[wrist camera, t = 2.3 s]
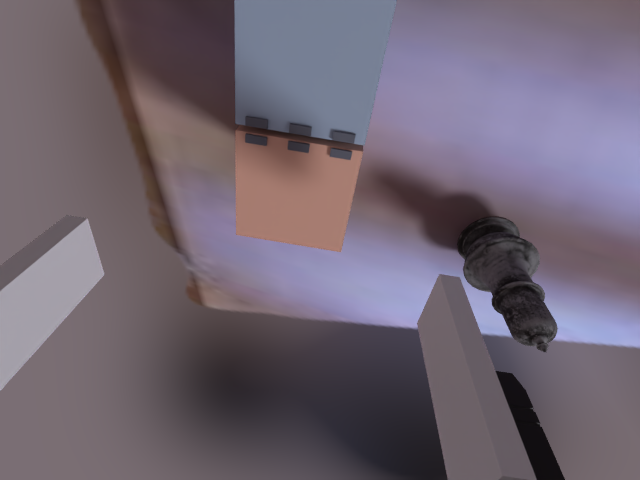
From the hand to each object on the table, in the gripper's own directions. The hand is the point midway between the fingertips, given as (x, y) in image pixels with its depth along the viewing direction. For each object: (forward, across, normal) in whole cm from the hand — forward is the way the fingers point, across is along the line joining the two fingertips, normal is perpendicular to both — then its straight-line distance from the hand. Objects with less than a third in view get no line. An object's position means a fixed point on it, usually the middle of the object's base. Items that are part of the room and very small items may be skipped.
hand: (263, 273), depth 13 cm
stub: (+17, 0, 0) cm, 17 cm away
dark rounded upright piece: (+17, +17, -7) cm, 25 cm away
